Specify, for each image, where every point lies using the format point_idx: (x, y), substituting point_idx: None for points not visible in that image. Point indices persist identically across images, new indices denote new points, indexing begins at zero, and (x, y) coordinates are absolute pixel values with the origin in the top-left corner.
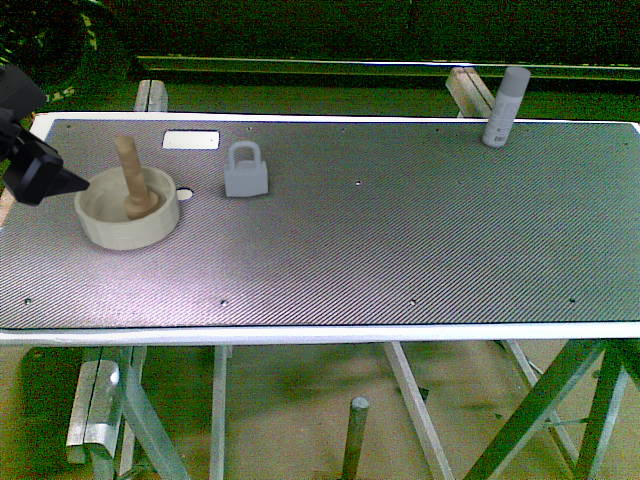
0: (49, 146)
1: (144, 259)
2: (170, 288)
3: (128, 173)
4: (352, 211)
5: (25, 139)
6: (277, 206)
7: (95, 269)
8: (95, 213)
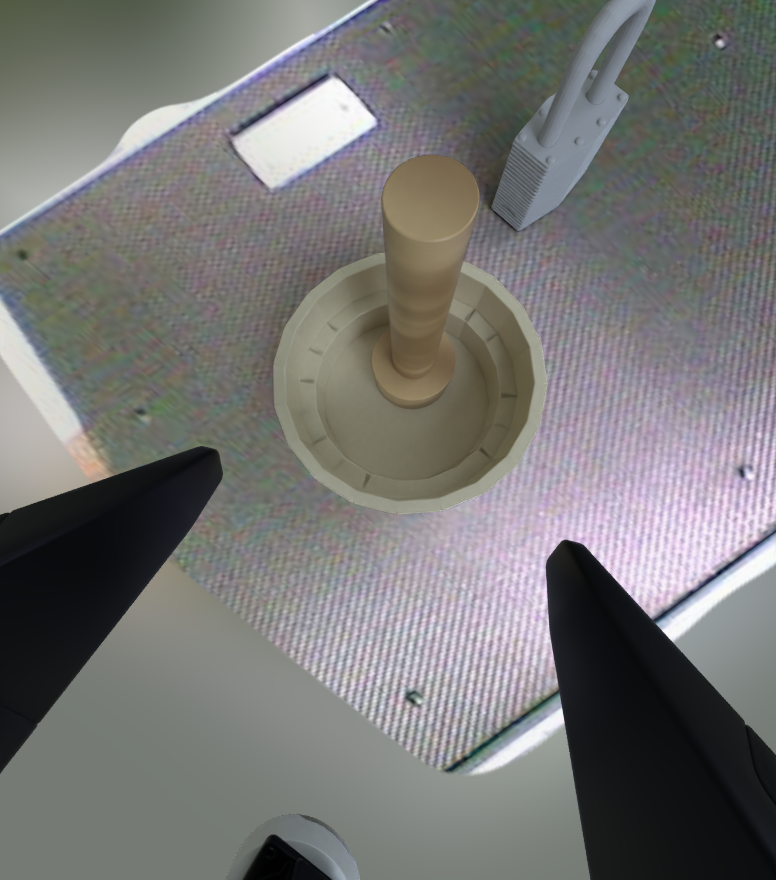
0: (170, 477)
1: (517, 474)
2: (626, 504)
3: (433, 327)
4: (771, 118)
5: (4, 619)
6: (628, 195)
7: (455, 554)
8: (335, 442)
